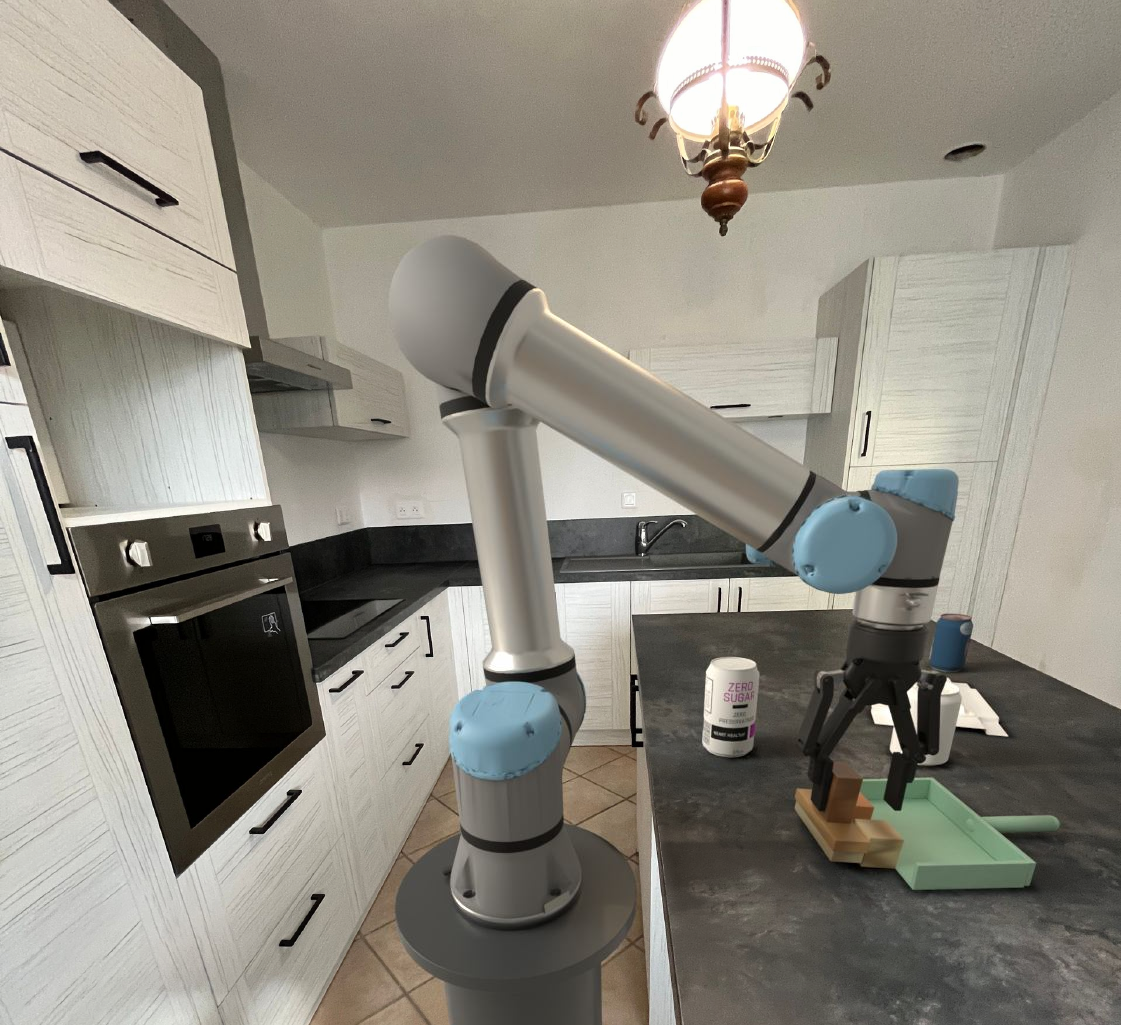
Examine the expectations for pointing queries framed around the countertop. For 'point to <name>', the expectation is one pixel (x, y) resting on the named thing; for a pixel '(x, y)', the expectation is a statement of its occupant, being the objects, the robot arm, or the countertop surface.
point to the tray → (970, 713)
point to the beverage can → (947, 722)
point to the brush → (836, 816)
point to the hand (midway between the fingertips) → (854, 805)
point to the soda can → (950, 642)
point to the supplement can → (730, 706)
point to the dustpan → (954, 839)
